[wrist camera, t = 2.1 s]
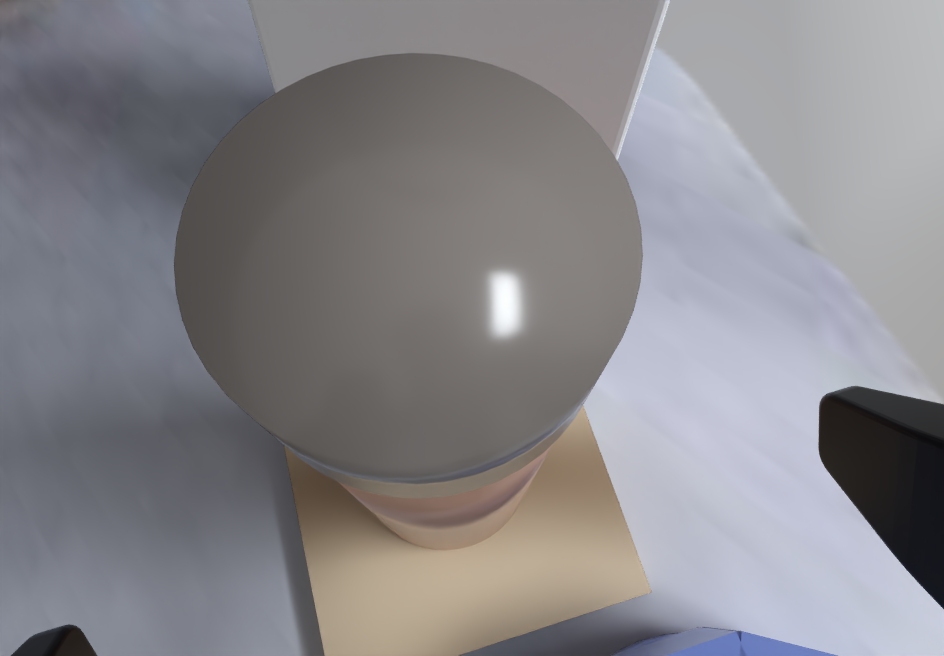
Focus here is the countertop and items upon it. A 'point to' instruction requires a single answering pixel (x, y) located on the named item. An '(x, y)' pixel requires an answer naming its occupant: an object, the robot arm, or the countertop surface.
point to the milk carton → (480, 43)
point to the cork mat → (468, 562)
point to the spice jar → (412, 281)
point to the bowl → (714, 645)
